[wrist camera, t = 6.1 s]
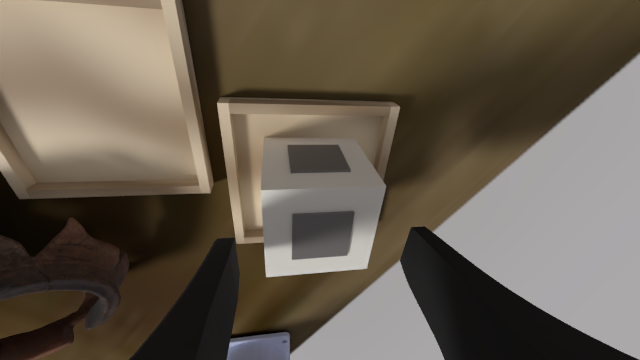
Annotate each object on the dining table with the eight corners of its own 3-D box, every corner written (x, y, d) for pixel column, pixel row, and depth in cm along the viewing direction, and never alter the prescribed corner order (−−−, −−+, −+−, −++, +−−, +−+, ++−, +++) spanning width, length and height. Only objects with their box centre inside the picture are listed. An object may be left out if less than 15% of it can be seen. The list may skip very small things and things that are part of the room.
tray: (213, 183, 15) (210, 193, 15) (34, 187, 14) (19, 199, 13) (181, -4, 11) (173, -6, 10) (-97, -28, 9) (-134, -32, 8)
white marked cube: (343, 207, 18) (367, 270, 13) (267, 211, 17) (265, 279, 12) (354, 135, 15) (388, 185, 11) (263, 135, 14) (260, 189, 10)
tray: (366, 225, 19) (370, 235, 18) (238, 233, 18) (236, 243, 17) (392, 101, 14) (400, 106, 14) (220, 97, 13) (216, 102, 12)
